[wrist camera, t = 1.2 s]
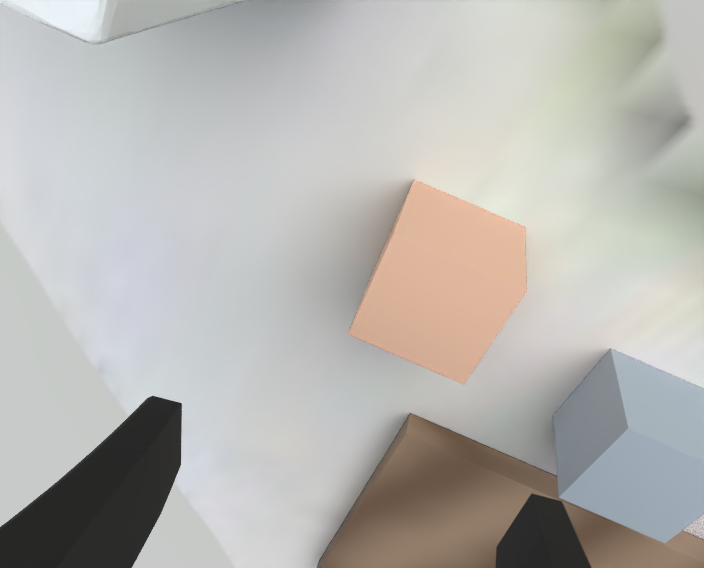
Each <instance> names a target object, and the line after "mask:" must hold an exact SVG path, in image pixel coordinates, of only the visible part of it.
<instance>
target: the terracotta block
mask: <svg viewBox="0 0 704 568" xmlns="http://www.w3.org/2000/svg"><path fill="white" fill-rule="evenodd" d="M526 291H527V277H526V244H525V227H524V226H522V225H519V224H517V223H515V222H512V221H510V220H508V219H505V218H503V217H501V216H498V215H496V214H494V213H492V212H489V211H487V210H485V209H482V208H480V207H478V206H475V205H473V204H471V203H468V202H466V201H464V200H461V199H459V198H457V197H454V196H452V195H450V194H447V193H445V192H443V191H440V190H438V189H436V188H433V187H431V186H429V185H426V184H424V183H422V182H419V181H417V180H415V179H414V181H413V183H412V185H411V187H410V190H409V192H408V194H407V196H406V199H405V201H404V203H403V205H402V208H401V210H400V212H399V214H398V216H397V219H396V221H395V223H394V225H393V228H392V230H391V232H390V234H389V237H388V239H387V241H386V243H385V245H384V248H383V250H382V252H381V254H380V257H379V259H378V261H377V263H376V266H375V268H374V270H373V272H372V275H371V277H370V280H369V282H368V285H367V287H366V290H365V292H364V295H363V297H362V300H361V302H360V305H359V307H358V310H357V312H356V315H355V317H354V320H353V323H352V325H351V328H350V330H349V333H348V335H350V336H353V337H355V338H357V339H360V340H362V341H364V342H367V343H369V344H371V345H373V346H376V347H378V348H380V349H383V350H385V351H387V352H390V353H392V354H394V355H397V356H399V357H401V358H404V359H406V360H408V361H410V362H413V363H415V364H417V365H420V366H422V367H424V368H427V369H429V370H431V371H434V372H436V373H438V374H441V375H443V376H445V377H447V378H450V379H452V380H454V381H457V382H459V383H461V384H465V382H466V381H467V379H468V378H469V376H470V375H471V373H472V372H473V370H474V369H475V367H476V366H477V364H478V363H479V361H480V360H481V358H482V357H483V355H484V354H485V352H486V351H487V349H488V348H489V346H490V345H491V343H492V342H493V340H494V339H495V338H496V336H497V335H498V333H499V332H500V330H501V329H502V327H503V326H504V324H505V323H506V321H507V320H508V318H509V317H510V315H511V314H512V312H513V311H514V309H515V308H516V306H517V305H518V303H519V302H520V300H521V299H522V297H523V296H524V294H525V293H526Z"/></svg>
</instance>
